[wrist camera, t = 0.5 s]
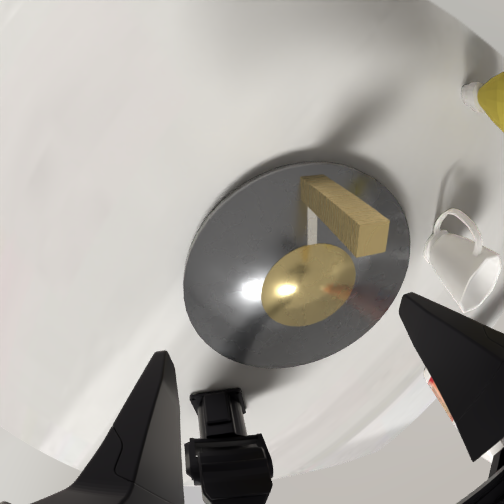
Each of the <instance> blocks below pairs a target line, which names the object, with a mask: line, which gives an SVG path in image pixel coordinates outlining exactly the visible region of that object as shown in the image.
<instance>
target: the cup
mask: <svg viewBox="0 0 504 504" xmlns="http://www.w3.org/2000/svg"><path fill="white" fill-rule="evenodd" d="M448 214H451V215H455V216H456V217H457V218H459V219H460V220H461V221H462V222H463V223H464V224H465V225H466V226H467V227H468V228H469V230H470V231H471V233H472V235H473V237H474V239H475V242H474V241H472V240H470V239H468V238H465V237H462V236H459V235H455V234H448V231H447V230H440V225H441V223H442V221H443V219H444V218H445V217H446V216H447V215H448ZM423 256H424V257H425V259H426V261H427V262H428V263H429V264H431V265H432V267H433V269H434V271H435V272H436V274H437V275H438V277H439V279H440V280H441V282H442V284H443V285H444V286H445V287H446V289H447V290H448V292H449V293H450V294H451V296H452V297H453V298H454V300H455V301H456V303H457V304H458V306H459V307H460V309H461V310H462V311H463V313H466V312H468V311H471V310H473V309H475V308H477V307H479V306H480V305H481V303H482V302H483V301H484V300H485V299H486V298H487V296H488V295H489V294H490V293H491V292H492V290H493V289H494V286H495V284H496V282H497V279H498V277H499V274H500V272H501V269H502V266H501V261H500V255H499V254H498V253H496V252H494V251H492V250H490V249H488V248H486V247H484V246H482V237H481V233H480V232H479V230H478V228H477V226H476V224H475V223H474V222H473V221H472V220H471V219H470V218H469V217H468V216H467V215H466V214H464V213H463V212H462V211H460V210H459V209H454V208H451V209H449V210H447V211H446V212H444V213H442V215H441V216H440V217H439V218H438V220H437V221H436V223H435V226H434V234H433V235H432V236H431V237H430V238H429V239H428V240H427V241H426V245H425V249H424V253H423Z"/></svg>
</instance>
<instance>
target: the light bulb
mask: <svg viewBox="0 0 504 504" xmlns="http://www.w3.org/2000/svg"><path fill="white" fill-rule="evenodd" d="M461 95H462V99H463V102H464V103H465V104H466V105H467V106H470V107H471V108H472V109H473V110H474V111H476V112H480V113H485V112H486V114H487V115H488V116H489V117H490V119H491V120H492V121H493V122H494V123H495V124H496V125H497V126H498V127H499V128H500V129H501V130H502V131H503V132H504V72H502V73H500V74H498V75H496V76H495V77H493V78H491V79H490V80H489V81H488V82H487V83H486V84H483V83H480V82H471V83H470V84H469V85H464V86H463V88H462V91H461Z"/></svg>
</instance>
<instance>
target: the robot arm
mask: <svg viewBox="0 0 504 504" xmlns="http://www.w3.org/2000/svg"><path fill="white" fill-rule="evenodd" d="M399 315H400V318H401V320H402V322H403V324H404V326H405V328H406V330H407V332H408V335H409V337H410V339H411V341H412V343H413V345H414V347H415V349H416V351H417V352H418V354H419V356H420V358H421V359H422V361H423V363H424V365H425V366H426V368H427V370H428V372H429V374H430V375H431V377H432V379H433V381H434V383H435V385H436V387H437V388H438V390H439V392H440V394H441V396H442V398H443V400H444V402H445V404H446V406H447V408H448V410H449V412H450V414H451V416H452V418H453V420H454V422H455V423H456V426H457V429H458V431H459V433H460V435H461V437H462V439H463V441H464V444H465V446H466V448H467V450H468V453H469V455H470V457H471V460H472V461H473V462H474V461H476V460H477V459H478V458H479V457H481V456H482V455H483V454H485V453H486V452H487V451H488V450H490V449H491V448H492V447H493V446H494V445H496V444H497V443H498V442H499V441H501V443H502V444H503V446H504V334H503V333H501V332H499V331H496V330H494V329H492V328H490V327H488V326H486V325H483V324H481V323H479V322H477V321H475V320H473V319H471V318H468V317H466V316H464V315H462V314H460V313H458V312H455V311H453V310H451V309H449V308H447V307H444V306H442V305H440V304H438V303H436V302H433V301H431V300H429V299H427V298H424V297H422V296H420V295H418V294H415V293H413V292H410V293H407V294H404V295H403V297H402V300H401V304H400V308H399ZM190 401H191V403H192V405H193V407H194V409H195V411H196V413H197V415H198V420H199V430H200V439H194V438H190V442H188V443H186V444H184V446H185V461H186V474H187V475H189V476H190V477H191V478H192V480H194V485H201V489H202V496H203V501H204V502H205V503H206V504H265V503H266V500H267V498H268V496H269V493H270V491H271V488H272V481H271V478H272V477H273V465H272V460H271V457H270V454H269V452H268V449H267V446H266V444H265V441H264V439H263V436H262V434H257V435H248V436H247V432H246V427H245V422H244V417H243V414H245V413H246V411H245V406H244V402H243V397H242V393H241V389H239V388H235V389H230V390H223V391H217V392H210V393H203V394H195V395H191V396H190ZM196 455H198V457H196ZM0 504H11V503H8V502H5V501H3V502H1V503H0ZM32 504H184V492H183V477H182V460H181V435H180V406H179V398H178V390H177V382H176V374H175V367H174V364H173V362H172V360H171V358H170V356H169V354H168V352H167V351H165V350H164V351H157V352H155V353H154V355H153V356H152V358H151V360H150V361H149V363H148V365H147V366H146V368H145V370H144V371H143V373H142V375H141V377H140V378H139V380H138V382H137V383H136V385H135V387H134V389H133V390H132V392H131V394H130V395H129V397H128V399H127V401H126V402H125V404H124V406H123V408H122V409H121V411H120V413H119V415H118V416H117V418H116V420H115V422H114V423H113V426H112V427H111V429H110V430H109V432H108V434H107V436H106V437H105V439H104V441H103V442H102V444H101V446H100V447H99V449H98V450H97V452H96V453H95V454H94V456H93V457H92V459H91V460H90V461H89V463H88V464H87V466H86V467H85V468H84V470H83V471H82V473H81V474H80V476H79V477H78V478H77V479H76V481H75V482H74V483H73V484H72V485H71V486H69V487H68V488H66V489H64V490H62V491H60V492H58V493H55V494H53V495H51V496H48V497H46V498H44V499H41V500H39V501H36V502H34V503H32ZM457 504H504V447H503V448H502V449H501V450H499V451H498V452H497V453H496V454H495V455H494V456H493V460H492V465H491V470H490V474H489V478H488V480H487V481H486V482H484V483H483V484H482V485H481V486H479V487H478V488H477V489H476V490H475V491H473V492H472V493H470V494H469V495H468V496H466V497H465V498H464V499H462V500H461V501H460V502H458V503H457Z"/></svg>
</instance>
